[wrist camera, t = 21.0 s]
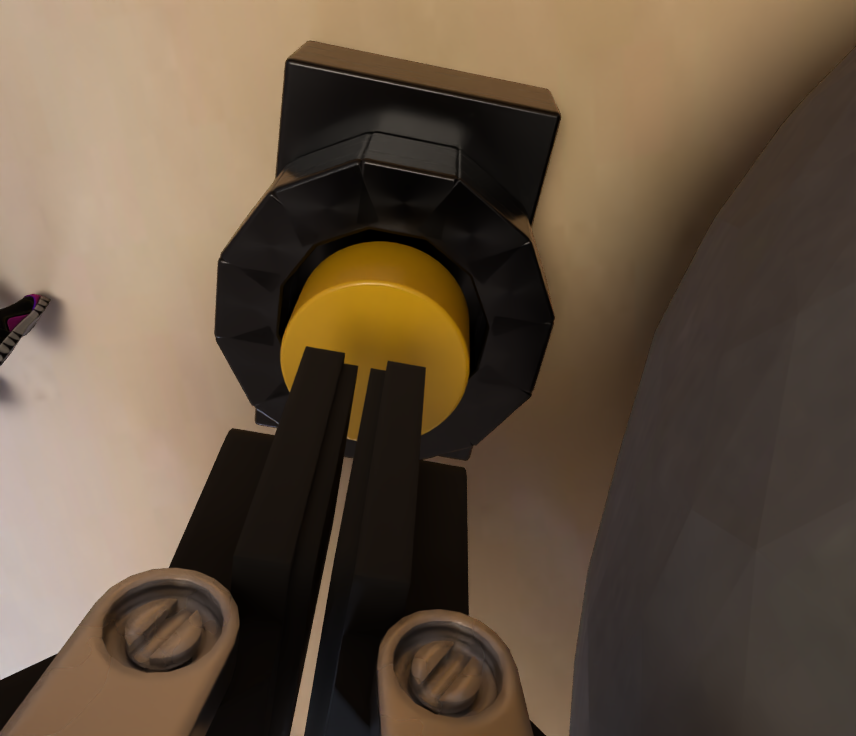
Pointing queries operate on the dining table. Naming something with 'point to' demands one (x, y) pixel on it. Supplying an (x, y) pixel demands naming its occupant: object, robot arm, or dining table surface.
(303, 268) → the button housing
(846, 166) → the bowl
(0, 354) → the character figure
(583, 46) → the dining table surface
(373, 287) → the button
